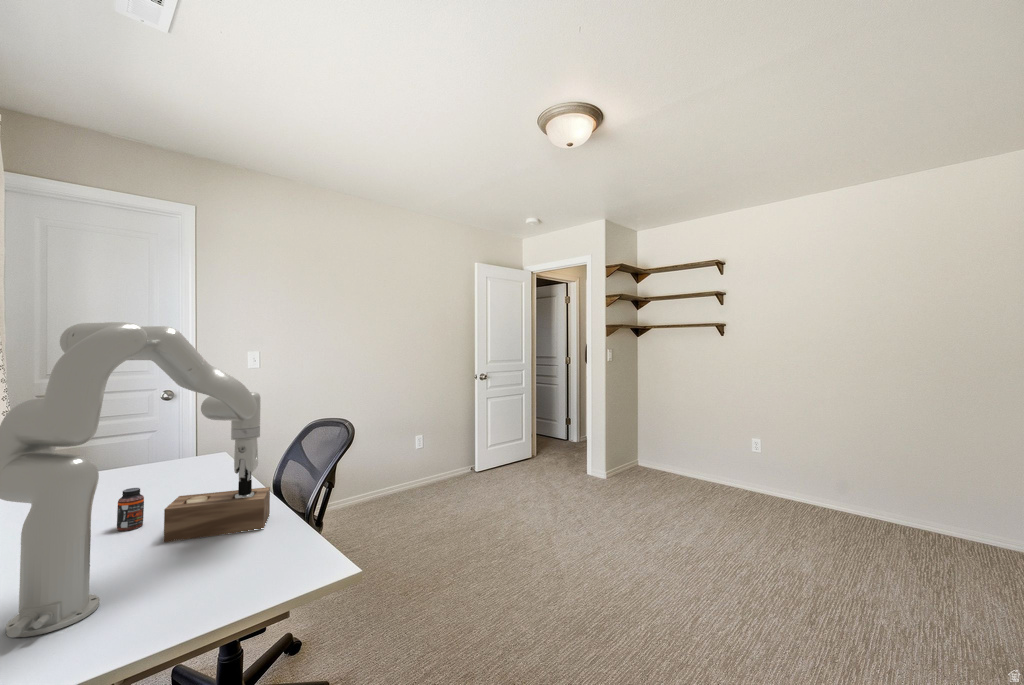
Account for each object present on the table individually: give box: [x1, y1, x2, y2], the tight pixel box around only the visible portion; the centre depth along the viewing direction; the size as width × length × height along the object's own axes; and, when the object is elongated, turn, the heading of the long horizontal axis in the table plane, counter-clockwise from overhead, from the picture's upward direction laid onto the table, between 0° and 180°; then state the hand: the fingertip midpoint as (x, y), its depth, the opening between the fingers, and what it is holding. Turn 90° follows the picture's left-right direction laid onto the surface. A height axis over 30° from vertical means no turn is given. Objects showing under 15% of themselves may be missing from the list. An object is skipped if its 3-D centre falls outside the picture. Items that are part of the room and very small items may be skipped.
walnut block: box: [163, 486, 271, 543], centre depth 129 cm, size 12×24×9 cm, turn 112°
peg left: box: [186, 496, 208, 504], centre depth 127 cm, size 5×5×9 cm
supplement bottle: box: [116, 487, 145, 532], centre depth 129 cm, size 6×6×11 cm
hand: (245, 493), depth 132 cm, fingers closed
